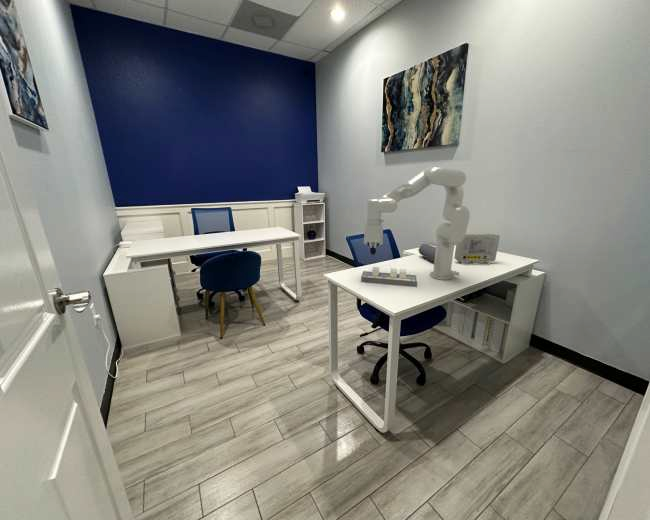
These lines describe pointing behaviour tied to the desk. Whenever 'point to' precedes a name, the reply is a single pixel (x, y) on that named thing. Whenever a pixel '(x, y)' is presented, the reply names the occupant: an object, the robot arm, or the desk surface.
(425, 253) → the bluetooth speaker
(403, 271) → the slider
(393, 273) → the slider middle
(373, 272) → the slider
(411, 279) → the switch console
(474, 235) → the network device
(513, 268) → the desk surface
